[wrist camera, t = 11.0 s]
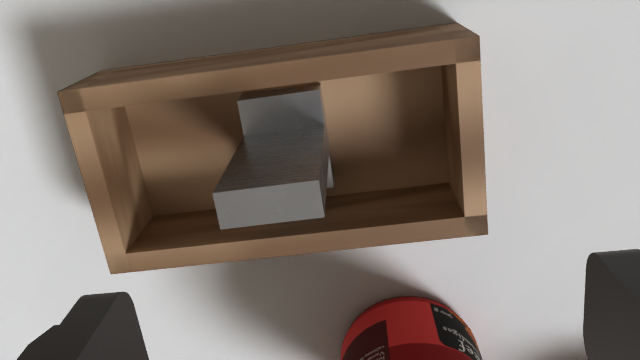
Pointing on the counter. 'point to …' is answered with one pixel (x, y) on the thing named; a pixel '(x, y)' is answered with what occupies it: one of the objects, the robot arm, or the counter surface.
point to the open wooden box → (344, 137)
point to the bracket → (277, 160)
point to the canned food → (409, 333)
